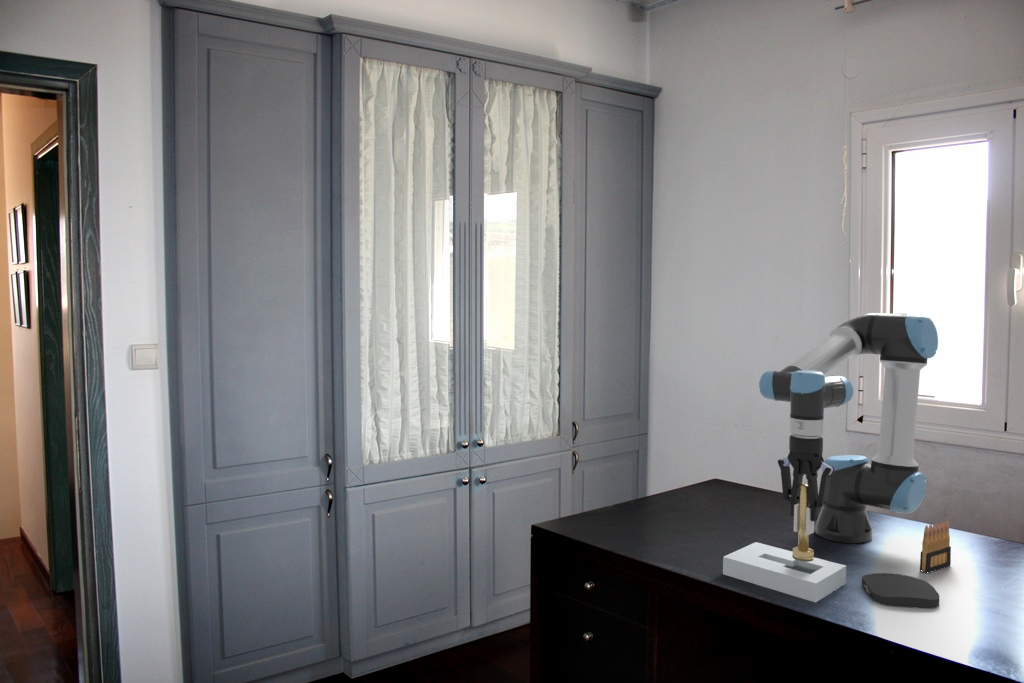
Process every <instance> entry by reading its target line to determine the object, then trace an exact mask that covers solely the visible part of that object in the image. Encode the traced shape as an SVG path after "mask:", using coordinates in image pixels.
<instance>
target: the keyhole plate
mask: <svg viewBox="0 0 1024 683" xmlns="http://www.w3.org/2000/svg"><path fill="white" fill-rule="evenodd" d="M722 559H723V560H722V575H724V576H728V577H731V578H734V579H738V580H741V581H744V582H747V583H751V584H754V585H757V586H760V587H763V588H766V589H770V590H774V591H777V592H779V593H783V594H786V595H790V596H793V597H796V598H799V599H803V600H805V601H810V602H813V603H817V602H819V601H821V600H822V599H824V598H826V597H827V596H829V595H830V594H832V593H833V591H834V592H836V591H837V590H838V589H840V588H842V587H843V586H845V585H846V584H847V565H845V564H841V563H837V562H833V561H829V560H826V559H822V558H819V557H815V556H814V560H813V561H809V562H804V561H798V560H795V559H794V558H793V550H788V549H785V548H784V549H783V548H780V547H776V546H772V545H769V544H765V543H761V542H757V541H755V542H752V543H750V544H748V545H747V546H744V547H742V548H740V549H737V550H736V551H733V552H730V553H729V554H727V555H723V558H722ZM841 586H842V587H841Z"/></svg>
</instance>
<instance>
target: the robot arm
mask: <svg viewBox="0 0 1024 683" xmlns="http://www.w3.org/2000/svg"><path fill="white" fill-rule="evenodd" d="M938 336H939V335H938V331H937V328H936V325H935V324H934V321H933V320H932V319H931V318H930V317H929V316H928V315H925V314H917V313H879V312H875V313H874V312H870V313H866V314H862V315H859V316H856V317H855V318H852V319H851V318H850V319H849V320H848V321H847V320H846V322H843V323H841V324H840V325H838V326H837V327H835V328H833V329H832V331H830V333H829V336H828V337H827V338H825V339H824V340H823V341H821V342H819V344H817V345H816V346H815V347H813V348H811V349H810V350H808V351H807V352H806V353H804V354H803V355H802V356H800V357H799V358H797V359H796V360H794V361H793V362H792V363H790V364H788V365H787V366H785V367H784V368H783V369H781V370H780V371H777V370H767V371H764V372H763V373H762V374H761V377H760V379H759V382H758V387H759V393H760V395H761V396H762V397H763V398H765V399H768V400H772V401H776V402H788V403H789V404H790V406H789V407H790V414H789V433H790V434H791V435H790V436H789V439H788V440H789V443H788V444H789V445H788V446H789V447H788V448H789V453H788V454H787V457H783V458H780V459H778V460H777V464H778V466H779V470H780V475H781V476H780V477H781V489H782V498H783V500H784V501H787V502H789V503H790V516H791V517H793V532H794V533H798V527H799V487H800V484H803V477H804V476H805V478H806V481H807V484H808V493H809V504H810V506H808V507H807V508H806V534H807V535H809V536H810V535H811V534H812V535H813V534H814V533H815V534H816V535H817V536H819V537H821V538H823V539H826V540H829V541H833V542H838V543H845V544H847V543H848V544H862V542H864V543H868V542H870V541H871V540H872V539H873V529H872V525H871V523H870V520H869V517H868V513H867V507H873V508H877V509H882V510H887V511H891V512H892V513H901V514H912V513H913V512H915V511H916V510H917V509H919V507H920V505H921V503H923V500H924V497H925V495H926V491H927V480H926V476H925V475H924V473H922V472H921V471H919V463H918V462H917V461H916V460H915V459H914V451H915V450H914V449H915V448H914V447H915V436H916V425H917V424H916V423H917V413H918V400H919V399H918V398H919V390H920V389H919V388H920V386H919V385H920V375H921V370H922V369H924V368H925V367H926V366H927V365H928V359H932V358H933V357H934V356H936V354H937V350H938V348H939V337H938ZM859 355H879V362H880V363H881V364H882V365H883V367H884V378H883V389H882V390H883V391H882V400H881V401H882V403H881V412H880V414H881V415H880V426H879V428H880V429H879V438H878V439H879V440H878V450H877V452H878V453H877V454H875V455H874V456H873V457H872V458H871V463H869V459H868V457H867V456H864V455H859V454H857V455H855V454H843V455H833V456H829V457H827V458H825V459H824V457H823V453H824V452H823V451H824V438H823V437H822V436H823V435H824V411H825V409H827V408H828V409H829V408H834V407H835V408H838V407H840V406H843V405H846V404H848V403H849V402H850V401H851V400H852V398H853V396H854V387H853V384H852V383H851V381H850V380H849V378H846V377H845V376H842V375H830V376H828V375H827V374H828V373H829V372H831V371H832V370H833V369H835V368H836V367H837V366H839V365H840V364H841V363H843V362H844V361H846V360H847V359H848V360H849V359H850V360H851V359H853V358H856V357H858V356H859ZM790 465H791V467H792V468H793V472H792V477H793V478H792V477H791V467H790ZM820 469H821V473H822V474H821V477H820V481H819V482H820V483H819V486H818V476H819V475H818V471H819V470H820ZM819 508H821V509H820V512H819Z"/></svg>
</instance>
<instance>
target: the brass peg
mask: <svg viewBox="0 0 1024 683" xmlns="http://www.w3.org/2000/svg"><path fill="white" fill-rule="evenodd" d="M798 503H799V527H798V532H797V534H798V538H797V541H798V542H797V546H795V547H792V552H793V558H794V559H795V560H798V561H804V562H809V561H813V560H814V557H815V555H814V554H815V551H814V549H812V548H810V546H809V542H810V535H807V534H806V508H807V507H808V506H810V504H809V493H808V483H802V484H800V487H799V502H798Z"/></svg>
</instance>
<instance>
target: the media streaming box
mask: <svg viewBox="0 0 1024 683" xmlns="http://www.w3.org/2000/svg"><path fill="white" fill-rule="evenodd" d="M861 587H862V588H863V591H865V593H866V595H867V596H868V598H870V599H871V600H872V601H873V602H875V603H877V604H880V605H883V606H888V607H902V608H914V607H918V608H917V609H936V608H938V607H939V606H940V594H939V593H938V590H936V588H935V587H934V586H933V585H932V584H931V583H930V582H928V581H926V580H924V579H921V578H918V577H914V576H911V575H906V574H900V573H887V572H877V573H868V574H864V575H863V576H861Z"/></svg>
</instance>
